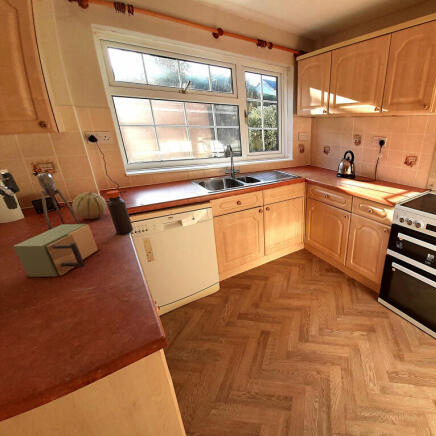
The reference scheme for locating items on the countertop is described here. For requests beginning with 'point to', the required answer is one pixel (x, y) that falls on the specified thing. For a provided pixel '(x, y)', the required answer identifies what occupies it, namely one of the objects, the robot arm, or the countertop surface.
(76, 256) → the brown panel dark handle
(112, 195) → the bottle
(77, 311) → the countertop surface
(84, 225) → the cabinet
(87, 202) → the cantaloupe
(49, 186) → the juicer
